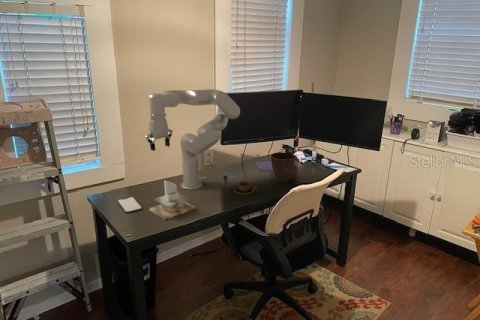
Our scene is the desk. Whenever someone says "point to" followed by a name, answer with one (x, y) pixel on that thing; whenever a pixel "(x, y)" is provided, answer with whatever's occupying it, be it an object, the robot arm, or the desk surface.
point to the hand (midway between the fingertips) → (160, 148)
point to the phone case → (129, 205)
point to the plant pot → (282, 165)
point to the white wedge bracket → (170, 191)
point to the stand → (171, 207)
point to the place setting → (242, 187)
